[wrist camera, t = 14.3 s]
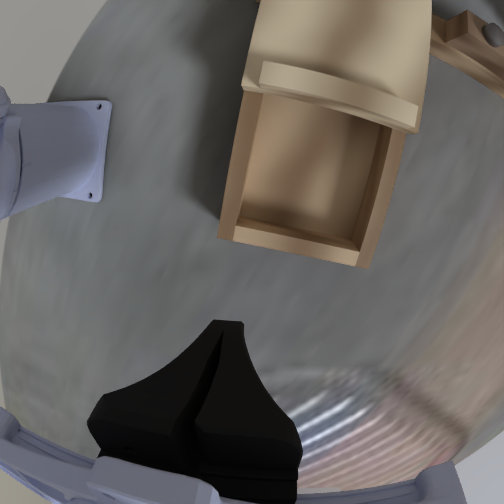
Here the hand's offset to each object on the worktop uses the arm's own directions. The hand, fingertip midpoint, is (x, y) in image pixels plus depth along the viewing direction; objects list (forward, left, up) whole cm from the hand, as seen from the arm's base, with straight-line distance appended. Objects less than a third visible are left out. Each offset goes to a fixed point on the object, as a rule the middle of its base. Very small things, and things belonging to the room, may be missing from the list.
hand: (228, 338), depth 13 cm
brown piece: (+9, +12, -10) cm, 18 cm away
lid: (+3, +19, -7) cm, 20 cm away
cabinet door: (+16, +20, -7) cm, 26 cm away
